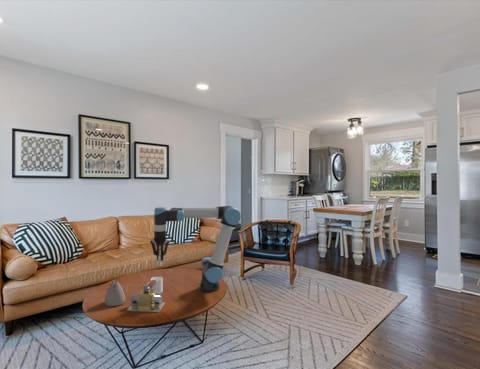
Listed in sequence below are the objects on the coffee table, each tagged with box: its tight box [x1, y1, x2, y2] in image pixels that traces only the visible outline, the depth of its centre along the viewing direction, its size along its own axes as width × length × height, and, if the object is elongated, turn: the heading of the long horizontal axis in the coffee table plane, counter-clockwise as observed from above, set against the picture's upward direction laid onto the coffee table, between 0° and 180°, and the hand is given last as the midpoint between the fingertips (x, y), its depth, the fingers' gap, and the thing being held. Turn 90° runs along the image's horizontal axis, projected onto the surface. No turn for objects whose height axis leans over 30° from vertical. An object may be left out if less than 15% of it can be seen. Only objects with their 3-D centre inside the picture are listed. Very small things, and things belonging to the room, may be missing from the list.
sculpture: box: [104, 279, 126, 308], centre depth 184 cm, size 13×12×15 cm
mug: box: [145, 276, 164, 295], centre depth 199 cm, size 12×8×10 cm
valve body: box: [126, 289, 166, 313], centre depth 178 cm, size 20×12×10 cm, turn 87°
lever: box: [142, 280, 156, 293], centre depth 183 cm, size 15×4×3 cm, turn 176°
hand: (160, 265), depth 186 cm, fingers closed
